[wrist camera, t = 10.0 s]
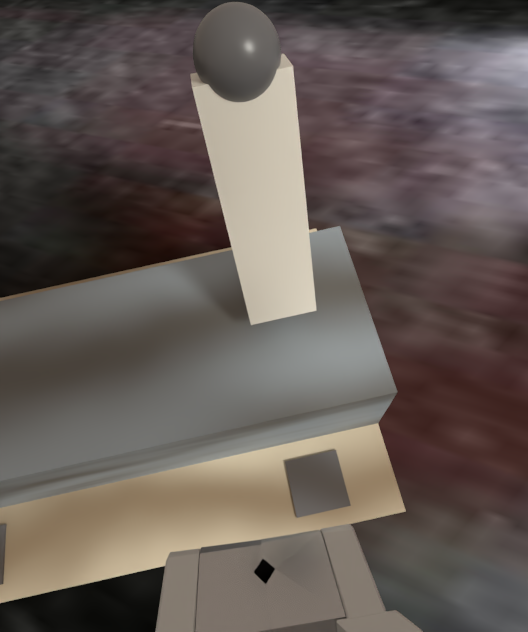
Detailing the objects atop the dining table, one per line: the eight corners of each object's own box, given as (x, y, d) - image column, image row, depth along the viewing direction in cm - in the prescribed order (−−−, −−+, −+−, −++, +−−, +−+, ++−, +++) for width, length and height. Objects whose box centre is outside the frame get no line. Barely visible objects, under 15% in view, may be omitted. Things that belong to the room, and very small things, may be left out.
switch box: (402, 512, 23) (436, 504, 17) (-89, 623, 23) (-237, 655, 17) (315, 237, 31) (317, 163, 25) (-49, 317, 31) (-140, 263, 25)
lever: (319, 319, 20) (290, -1, 11) (252, 334, 20) (175, 24, 11) (306, 282, 21) (273, -15, 13) (245, 296, 21) (174, 6, 13)
